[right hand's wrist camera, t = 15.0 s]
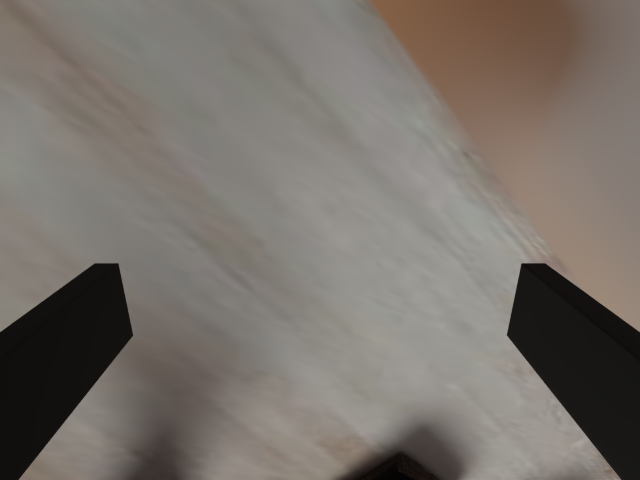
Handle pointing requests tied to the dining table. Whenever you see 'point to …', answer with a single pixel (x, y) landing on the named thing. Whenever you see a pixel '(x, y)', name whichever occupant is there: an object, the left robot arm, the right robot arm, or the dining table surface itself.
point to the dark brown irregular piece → (400, 470)
